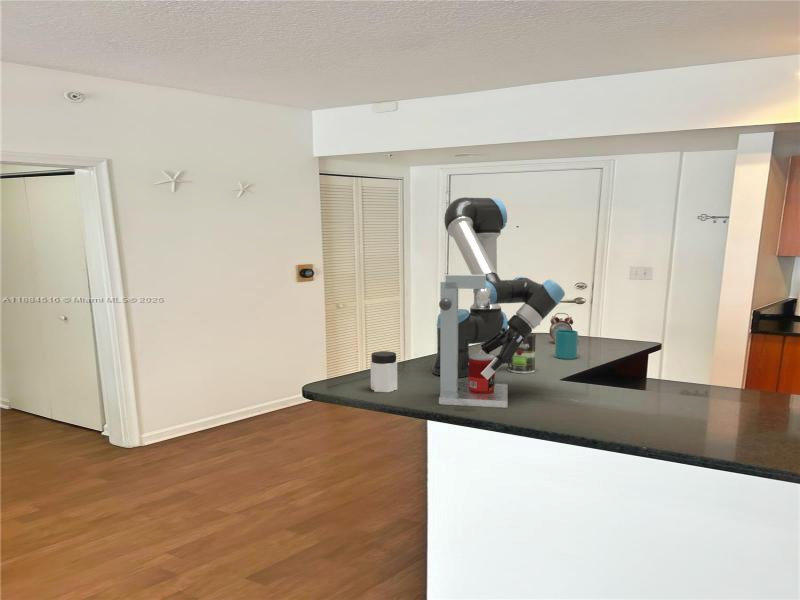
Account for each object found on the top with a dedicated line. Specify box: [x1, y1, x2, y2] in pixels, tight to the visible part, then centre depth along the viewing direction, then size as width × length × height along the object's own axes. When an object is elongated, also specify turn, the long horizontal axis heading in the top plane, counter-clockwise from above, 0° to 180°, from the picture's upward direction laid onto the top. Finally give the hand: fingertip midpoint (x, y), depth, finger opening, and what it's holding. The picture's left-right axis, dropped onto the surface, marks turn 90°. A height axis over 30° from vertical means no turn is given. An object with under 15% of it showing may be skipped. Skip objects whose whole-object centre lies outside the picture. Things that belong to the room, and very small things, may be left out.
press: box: [438, 274, 509, 409], centre depth 165 cm, size 23×20×38 cm
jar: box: [370, 350, 398, 393], centre depth 177 cm, size 9×8×12 cm
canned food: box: [468, 353, 496, 394], centre depth 167 cm, size 8×8×11 cm
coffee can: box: [507, 332, 537, 374], centre depth 204 cm, size 10×10×14 cm
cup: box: [554, 329, 579, 360], centre depth 228 cm, size 9×12×11 cm
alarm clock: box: [548, 312, 574, 343], centre depth 260 cm, size 11×5×15 cm, turn 81°
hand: (477, 371), depth 167 cm, fingers open, 13 cm apart
